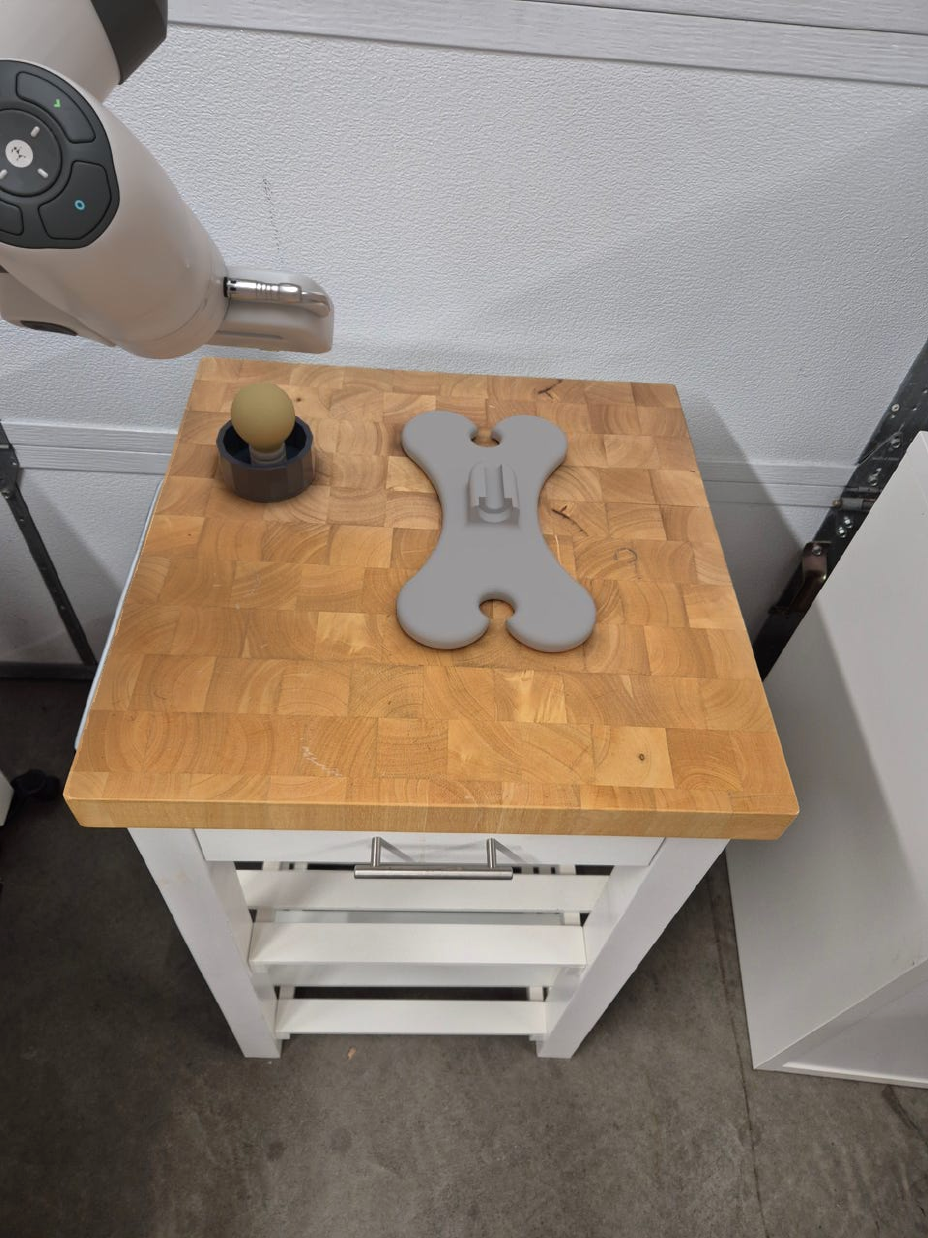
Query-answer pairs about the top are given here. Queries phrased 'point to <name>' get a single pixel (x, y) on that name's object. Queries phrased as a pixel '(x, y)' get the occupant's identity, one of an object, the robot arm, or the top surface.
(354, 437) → the top surface
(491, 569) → the holder
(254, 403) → the light bulb
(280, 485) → the socket
